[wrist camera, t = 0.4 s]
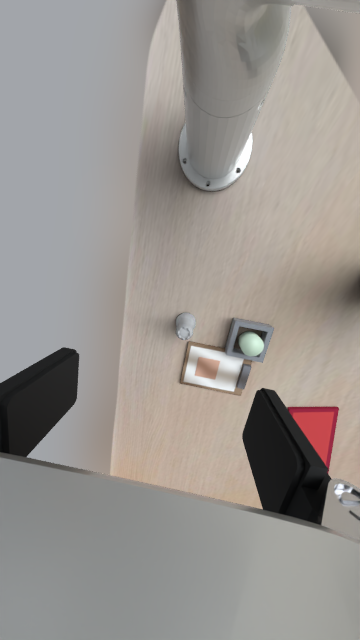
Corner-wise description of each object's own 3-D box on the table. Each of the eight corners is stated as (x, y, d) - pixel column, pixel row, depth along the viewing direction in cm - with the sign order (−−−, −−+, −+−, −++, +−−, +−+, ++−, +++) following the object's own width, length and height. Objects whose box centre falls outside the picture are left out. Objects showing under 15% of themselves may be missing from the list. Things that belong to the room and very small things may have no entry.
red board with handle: (266, 493, 55) (320, 494, 54) (270, 505, 52) (327, 506, 51) (271, 405, 47) (334, 404, 46) (276, 413, 45) (343, 412, 44)
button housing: (233, 317, 42) (235, 320, 39) (269, 324, 41) (274, 328, 39) (224, 350, 44) (226, 355, 41) (258, 357, 44) (262, 362, 41)
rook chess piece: (181, 334, 43) (178, 348, 36) (172, 317, 43) (167, 328, 35) (199, 325, 43) (200, 338, 35) (190, 308, 42) (189, 317, 34)
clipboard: (188, 341, 44) (188, 343, 42) (252, 354, 43) (255, 357, 42) (180, 381, 47) (179, 385, 45) (240, 394, 47) (241, 398, 45)
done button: (241, 329, 40) (244, 334, 37) (261, 333, 40) (266, 338, 37) (235, 347, 42) (238, 354, 39) (255, 351, 41) (260, 358, 39)
